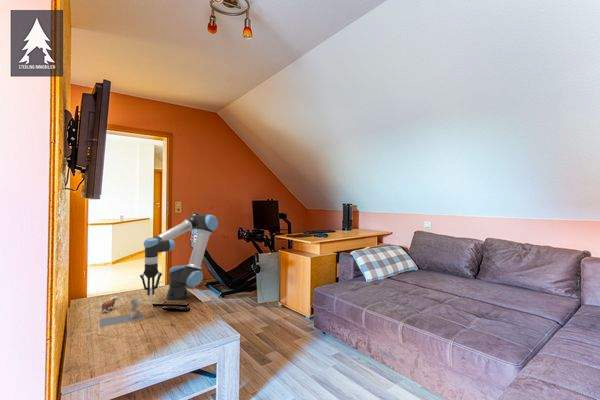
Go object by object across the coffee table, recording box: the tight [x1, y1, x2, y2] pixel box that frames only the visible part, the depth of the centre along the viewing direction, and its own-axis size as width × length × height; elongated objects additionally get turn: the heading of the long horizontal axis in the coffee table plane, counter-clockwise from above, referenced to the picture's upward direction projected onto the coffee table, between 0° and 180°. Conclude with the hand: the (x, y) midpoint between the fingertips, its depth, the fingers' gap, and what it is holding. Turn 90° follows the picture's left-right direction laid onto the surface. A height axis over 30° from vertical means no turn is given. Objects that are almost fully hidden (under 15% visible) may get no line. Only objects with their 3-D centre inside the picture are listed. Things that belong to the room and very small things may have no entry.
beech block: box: [129, 298, 141, 319], centre depth 186 cm, size 5×5×10 cm
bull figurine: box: [101, 295, 120, 314], centre depth 196 cm, size 4×13×8 cm, turn 174°
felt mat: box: [99, 311, 144, 328], centre depth 182 cm, size 22×13×1 cm, turn 123°
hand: (150, 299), depth 190 cm, fingers closed
